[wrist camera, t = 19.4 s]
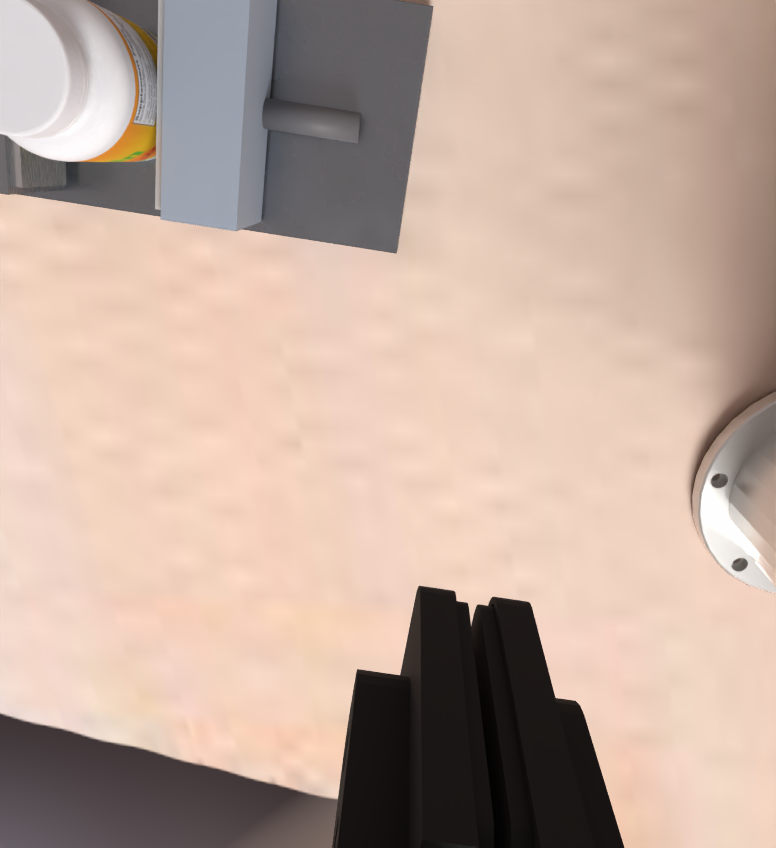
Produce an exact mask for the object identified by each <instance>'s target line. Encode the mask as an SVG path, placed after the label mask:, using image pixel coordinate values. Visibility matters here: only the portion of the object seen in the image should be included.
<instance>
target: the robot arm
mask: <svg viewBox="0 0 776 848" xmlns="http://www.w3.org/2000/svg"><path fill="white" fill-rule="evenodd" d="M714 475H715V476H714ZM692 507H693V518H694V522H695V526H696V529H697V533H698V535H699V537H700V538H701V540H702V542H703V544H704V546H705V548H706V549H707V551H708V552H709V553H710V554H711V556H712V557H713V558H714V559H715V561H716V562H717V564H719V565H720V566H721V567H722V568H723V569H724V570H725V571H726V572H727V573H728V574H729V575H731V576H732V577H734V578H736V579H738V580H739V581H741V582H743V583H745V584H746V585H748V586H751V587H754V588H757V589H760V590H763V591H766V592H771V593H776V391H775V392H773V393H771V394H770V395H768V396H766V397H764V398H762V399H761V400H759V401H757V402H755V403H754V404H752V405H751V406H749V407H748V408H747V409H746V410H744V411H743V412H742V413H740V414H739V415H738V416H737V417H735V418H734V419H733V420H732V421H731V422H730V423H729V424H728V425H727V426H726V427H725V429H724V430H723V431H722V432H721V433H720V434H719V435H718V436H717V437H716V439H715V440H714V442H713V443H712V445H711V447H710V448H709V450H708V451H707V453H706V454H705V456H704V458H703V460H702V463H701V465H700V468H699V470H698V473H697V475H696V479H695V484H694V489H693V494H692ZM332 848H624V845H623V842H622V839H621V835H620V832H619V829H618V825H617V822H616V819H615V815H614V812H613V809H612V806H611V802H610V799H609V796H608V792H607V789H606V786H605V782H604V779H603V776H602V773H601V769H600V766H599V763H598V759H597V756H596V753H595V750H594V746H593V743H592V740H591V736H590V733H589V730H588V726H587V723H586V720H585V717H584V714H583V711H582V709H581V707H580V705H579V704H578V703H577V702H576V701H572V700H565V699H558V698H555V695H554V691H553V687H552V683H551V679H550V676H549V672H548V668H547V664H546V660H545V656H544V652H543V649H542V645H541V641H540V637H539V633H538V629H537V625H536V622H535V618H534V614H533V610H532V607H531V604H530V603H529V602H525V601H518V600H512V599H505V598H498V597H492V598H491V600H490V602H489V605H488V606H485V605H477V607H476V609H475V613H474V617H473V621H472V625H471V623H470V614H469V606H468V603H465V602H458V601H456V594H455V592H454V591H451V590H444V589H437V588H430V587H424V586H419V587H418V589H417V593H416V598H415V603H414V608H413V613H412V618H411V623H410V628H409V633H408V639H407V644H406V649H405V654H404V659H403V664H402V669H401V674H400V675H393V674H386V673H379V672H372V671H366V670H359V669H357V673H356V678H355V684H354V690H353V696H352V702H351V708H350V715H349V721H348V728H347V735H346V742H345V749H344V757H343V764H342V772H341V780H340V788H339V796H338V805H337V813H336V821H335V829H334V837H333V845H332Z"/></svg>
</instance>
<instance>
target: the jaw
mask: <svg viewBox="0 0 776 848" xmlns="http://www.w3.org/2000/svg"><path fill="white" fill-rule="evenodd" d="M276 10H277V0H158V57H157V122H156V187H155V209H158V210H161V220H167V221H174V222H180V223H186V224H193V225H199V226H206V227H212V228H219V229H225V230H231V231H238V230H241V229H243V228H246V227H249V226H251V225H254V224H257V223H259V222H261V216H262V202H263V189H264V175H265V161H266V147H267V134H268V129H269V130H276V131H282V132H288V133H295V134H301V135H307V136H314V137H320V138H326V139H332V140H339V141H345V142H351V143H358V140H359V135H360V127H361V113H359V112H353V111H347V110H341V109H334V108H328V107H322V106H315V105H309V104H303V103H297V102H290V101H284V100H278V99H272V98H270V92H271V79H272V65H273V51H274V37H275V24H276Z"/></svg>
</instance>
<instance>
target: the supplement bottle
mask: <svg viewBox="0 0 776 848" xmlns="http://www.w3.org/2000/svg"><path fill="white" fill-rule="evenodd" d="M157 57H158V37H157V36H156V35H154V34H153V33H151V32H150V31H148V30H147V29H145V28H144V27H142V26H140V25H138V24H136V23H133V22H131V21H129V20H127V19H125V18H123V17H121V16H119V15H117V14H115V13H113V12H111V11H109V10H107V9H105V8H103V7H101V6H99V5H97V4H95V3H92V2H90V1H88V0H0V134H3V135H7V136H8V137H9V138H10V139H11V140H13V141H14V142H15V143H17V144H18V145H19V146H21V147H23V148H24V149H26V150H28V151H30V152H32V153H34V154H36V155H39V156H41V157H45V158H48V159H52V160H58V161H66V162H139V161H147V160H151V159H154V158H156V122H157Z"/></svg>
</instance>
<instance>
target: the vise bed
mask: <svg viewBox="0 0 776 848" xmlns="http://www.w3.org/2000/svg"><path fill="white" fill-rule="evenodd" d="M88 1H90V2H92V3H95V4H97V5H99V6H101V7H103V8H105V9H107V10H109V11H111V12H113V13H115V14H117V15H119V16H121V17H123V18H125V19H127V20H129V21H131V22H133V23H136V24H138V25H140V26H142V27H144V28H145V29H147V30H148V31H150V32H151V33H153V34H154V35H156V36H157V37H158V0H88ZM432 13H433V6H428V5H422V4H416V3H409V2H403V1H397V0H277V10H276V24H275V37H274V51H273V65H272V79H271V92H270V98H272V99H278V100H284V101H290V102H297V103H303V104H309V105H315V106H322V107H328V108H334V109H341V110H347V111H353V112H359V113H361V127H360V135H359V140H358V143H351V142H345V141H339V140H332V139H326V138H320V137H314V136H307V135H301V134H295V133H288V132H282V131H276V130H269V129H268V134H267V147H266V161H265V175H264V189H263V202H262V216H261V222H259V223H257V224H254V225H251V226H249V227H246V228H243V229H244V230H250V231H256V232H263V233H269V234H276V235H282V236H288V237H295V238H301V239H308V240H314V241H320V242H327V243H333V244H340V245H346V246H352V247H359V248H365V249H372V250H378V251H384V252H391V253H397V249H398V242H399V235H400V229H401V222H402V215H403V208H404V202H405V195H406V188H407V181H408V175H409V168H410V161H411V155H412V148H413V141H414V134H415V128H416V121H417V114H418V107H419V101H420V94H421V87H422V81H423V74H424V67H425V60H426V54H427V47H428V40H429V33H430V27H431V20H432ZM155 187H156V158H154V159H151V160H147V161H139V162H66V161H58V160H52V159H48V158H45V157H41V156H39V155H36V154H34V153H32V152H30V151H28V150H26V149H24V148H23V147H21V146H19V145H18V144H17V143H15V142H14V141H13V140H11V139H10V138H9V137H8V136H7V135H3V134H0V193H1V194H7V195H10V194H19V195H26V196H32V197H39V198H45V199H51V200H58V201H64V202H71V203H77V204H83V205H90V206H96V207H103V208H109V209H115V210H122V211H128V212H135V213H141V214H147V215H154V216H160V217H161V210H158V209H155Z"/></svg>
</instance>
